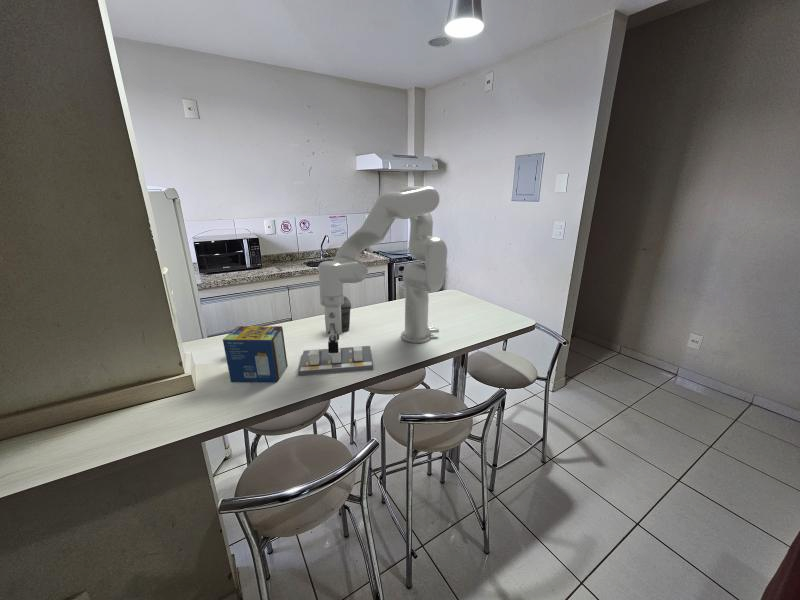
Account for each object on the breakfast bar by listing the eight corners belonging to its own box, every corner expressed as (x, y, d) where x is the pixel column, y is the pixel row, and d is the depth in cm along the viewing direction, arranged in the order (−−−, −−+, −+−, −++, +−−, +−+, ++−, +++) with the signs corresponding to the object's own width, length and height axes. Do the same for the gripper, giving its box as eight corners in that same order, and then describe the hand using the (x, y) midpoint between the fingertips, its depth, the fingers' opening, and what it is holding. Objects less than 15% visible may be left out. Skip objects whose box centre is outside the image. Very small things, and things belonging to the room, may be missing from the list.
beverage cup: (349, 334, 140) (346, 289, 133) (333, 332, 141) (330, 288, 135) (354, 327, 146) (352, 284, 140) (339, 326, 148) (336, 283, 141)
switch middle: (341, 358, 116) (340, 348, 115) (341, 362, 113) (340, 352, 112) (332, 359, 116) (331, 348, 114) (332, 363, 113) (331, 352, 111)
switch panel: (370, 349, 127) (370, 345, 126) (373, 369, 113) (373, 364, 112) (304, 354, 123) (303, 349, 122) (299, 375, 109) (298, 370, 108)
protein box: (244, 366, 115) (237, 325, 110) (288, 366, 115) (283, 325, 110) (229, 383, 105) (221, 339, 100) (277, 383, 105) (271, 339, 100)
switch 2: (362, 356, 117) (361, 346, 116) (362, 360, 114) (362, 350, 113) (353, 357, 117) (353, 347, 116) (354, 361, 114) (353, 351, 113)
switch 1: (319, 360, 115) (318, 349, 114) (319, 364, 112) (318, 354, 111) (310, 360, 114) (309, 350, 113) (310, 365, 112) (309, 354, 110)
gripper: (343, 307, 99) (345, 357, 105) (343, 291, 115) (344, 335, 121) (318, 308, 98) (321, 358, 103) (321, 291, 114) (324, 336, 120)
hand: (334, 346), depth 112 cm, fingers open, 9 cm apart
